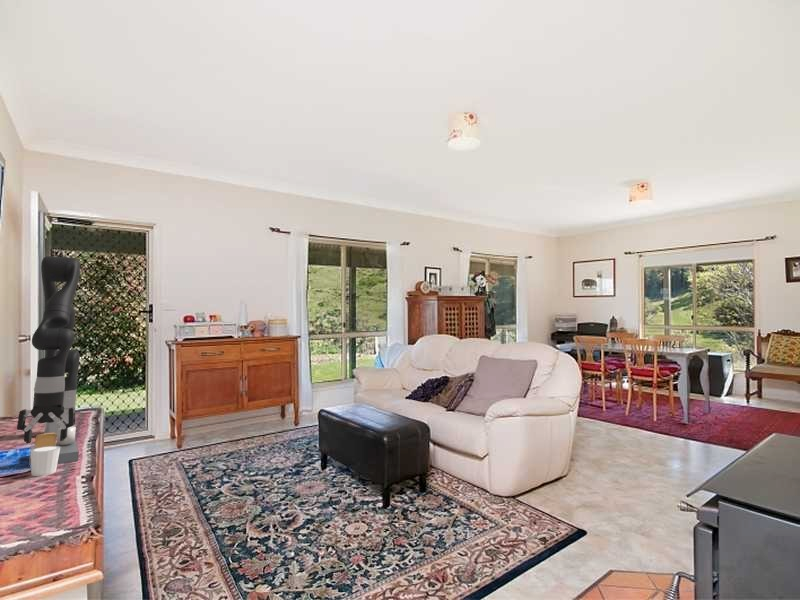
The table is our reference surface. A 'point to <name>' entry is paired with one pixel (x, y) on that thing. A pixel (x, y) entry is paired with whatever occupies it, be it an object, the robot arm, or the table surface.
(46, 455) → the white tapered cup
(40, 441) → the orange wire cap
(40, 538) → the table surface
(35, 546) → the table surface
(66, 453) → the plate
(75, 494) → the table surface
